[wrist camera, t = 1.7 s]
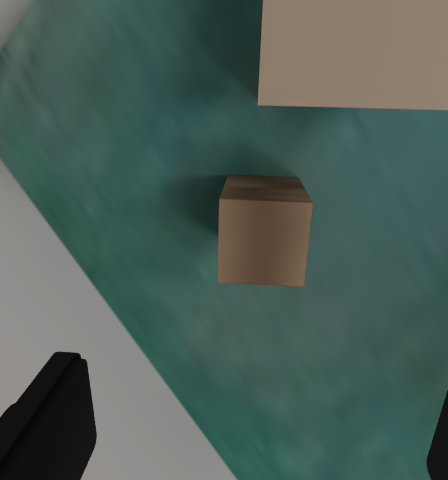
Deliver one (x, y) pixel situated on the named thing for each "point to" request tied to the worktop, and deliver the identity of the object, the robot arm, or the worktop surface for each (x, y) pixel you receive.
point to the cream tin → (354, 54)
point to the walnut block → (263, 230)
